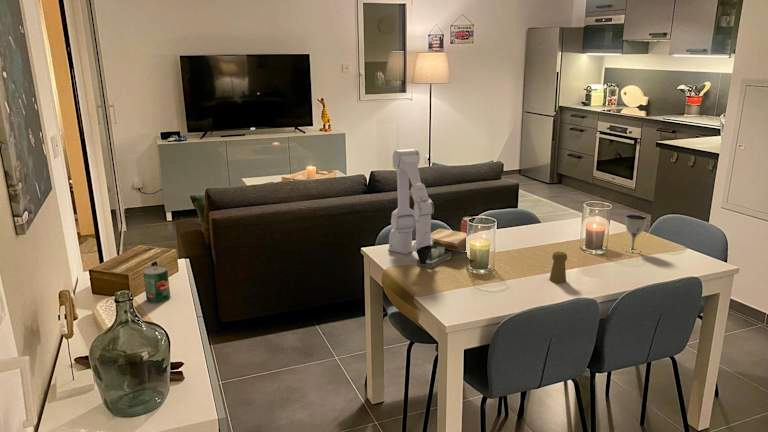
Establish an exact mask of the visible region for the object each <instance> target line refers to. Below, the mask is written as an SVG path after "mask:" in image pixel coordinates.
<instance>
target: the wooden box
mask: <svg viewBox="0 0 768 432" xmlns="http://www.w3.org/2000/svg"><path fill="white" fill-rule="evenodd" d="M431 237H434V242H432V243H433V245H430V246H432V248H431V250H430V252H432V249H433V248H437V246H438V245H443V246H445V250H446V249H448V250H450V251H456V250H457V251H456V252H460V251H461V253H465V251H466V233H463V232H461V231H457V230H452V229H451V230H450V229H445V228H438V229H436V230H433V232H432V231H431ZM430 252H429V253H430Z"/></svg>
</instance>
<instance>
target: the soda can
mask: <svg viewBox="0 0 768 432" xmlns="http://www.w3.org/2000/svg"><path fill="white" fill-rule="evenodd" d="M469 218H475V217H473V216H463V217H462V220H461V223H460V232H463V233H466V231H467V220H468V219H469Z"/></svg>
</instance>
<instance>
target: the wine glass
mask: <svg viewBox="0 0 768 432" xmlns="http://www.w3.org/2000/svg"><path fill="white" fill-rule="evenodd" d="M646 225H647V217H646V216H644V215H641V214H634V213H633V214H626V216H625V228H626V231H627V232H628V233H629V235H630V236H631V247H628V248H629V249H631V250H636V249H637V248H635V242H636V238H637V237H638V236H639V235H641V233H642V232H643V231H644V230H645V228H646ZM634 248H635V249H634Z"/></svg>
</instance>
